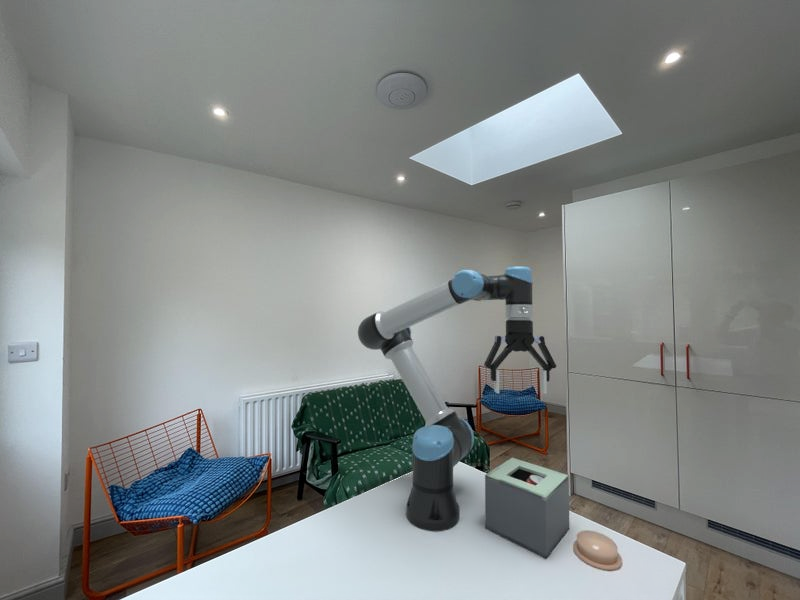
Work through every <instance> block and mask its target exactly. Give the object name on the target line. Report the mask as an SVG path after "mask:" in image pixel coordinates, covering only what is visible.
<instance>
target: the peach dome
mask: <svg viewBox="0 0 800 600" xmlns="http://www.w3.org/2000/svg"><path fill="white" fill-rule="evenodd" d="M572 546H573V547H572V548H573V552H574V554H575V556H576V557H577V558H578V559H579V560H580V561H581V562H582V563H584V564H586V565H587V566H589V567H592V568H594V569H596V570H599V571H605V572H606V571H607V572H614V571H618V570H620V569H621V568H622V565H623V560H622V559H623V558H622V556H621V554H620V553H619V552H618V551H619V550H618V546H617V543H616V542H615V541H614V540H613V539H612V538H610V537H609V536H607V535H605V534H604V533H600V532H598V531H594V530H581V531H578V532H577V534H576V540H575V541H573V544H572Z"/></svg>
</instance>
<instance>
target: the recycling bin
mask: <svg viewBox="0 0 800 600" xmlns="http://www.w3.org/2000/svg"><path fill="white" fill-rule="evenodd" d="M531 475H537V476H540V477H542V478H544V479H543V480H542V481H540V482H539V483H538V484H537V485H536V486H535V485H532V484H530V483H527V482H526V480H527V479H528V478H530V476H531ZM569 477H570V476H569V474H565V473H562V472H560V471H557V470H553V469H550V468H547V467H544V466H540V465H537V464H534V463H531V462H528V461H524V460H521V459H517V458H515V457H511V458H509V459H507V460H506V461H504V462H503V463H501V464H500V465H498V466H497V467H495V468H494V469H492V470H491V471H489V472H487V473H486V474H485V475H484V486H485V487H484V496H485V497H484V504H485V506H484V508H485V511H484V512H485V514H484V517H485V518H484V519H485V520H484V523H485V525H484V526H485V530H487V531H489V532H492V533H493V534H495V535H498V536H499V537H501V538H503V539H505V540H506V541H507V540H508V541H509V542H511V543H512V544H515V545H517V546H519V547H521V548H524V549H525V550H527V551H529V552H531V553H533V554H535V555H538V556H540V557H541V558H543V559H545V560H547V559H548V558H549V557H550V555H551V554H552V553H553V551H554V550H555V548H556V547H557V546H558V545H559V543H560V542H561V540H562V539H563V538H564V537H565V535H566V534H567V533H568V531H569V530H570V492H569V491H570V488H569V487H570V484H569V483H570V482H569V479H570V478H569Z"/></svg>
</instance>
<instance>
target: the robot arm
mask: <svg viewBox="0 0 800 600" xmlns="http://www.w3.org/2000/svg"><path fill="white" fill-rule="evenodd" d="M495 300H496V301H497V300H501V301H502V300H503V301H504V300H505V319H506V321H505V336H500V335H495V337H494V342H493V345H492V346H491V349H490V352H489V353H488V355H487V357H486V359H485V362H484V364H483V365H484V367H486V369H489V370H490V380H491V381H492V382H493V392H495V393H496V394H500V370H499V369H498V368H499V366H500V365H501V364H502V363H503V361H504V360H505V359H506V358H507V357H508V356H509V354H511V353H512V352H524V353H525V352H528V353H529V355H531V357H533V359H534V360H535V361H536V362H537V363H538V364H539V366H540V367H541V368H542V369H539V381H540V382H539V387H540V391H539V392H540V393H543V394H545V395H546V394H547V393H548V392H547V391H548V389H547V387H548V386H547V385H548V384H547V382H550V372H551V371H552V369H556V368H557V363H556V362H555V361H554V359H553V356H552V355H551V352H550V351H549V349H548V347H547V345H546V341H545V340H546V339H545V337H544V336H543V335H537V336H534V321H533V320H531V319H533V276H532V269H531V268H530V267H529V266H521V265H520V266H519V265H518V266H511V267H510V266H508V267H506V268H505V270H504V274H501V275H500V274H499V275H486V274H483V273H480V272H477V271H475V270H473V269H462V270H460V271H458V272H456V274H454V276H453V277H452V279H450V280H448V281H446V282H444V283H441V284H440V285H438V286H435V287H433V288H432V289H430V290H427V291H425V292H424V293H421V294H419V295H417V296H415V297H413V298H411V299H409V300H407V301H405V302H403V303H401V304H399V305H396V306H395V307H392V308H390V309H388V310H386V311H382V310H379V311H377V312H375V313H373V314H371V315H369V316H367V317H365V318H364V319H363V320H362V321H361V322H360V324H359V325H358V330H357V336H358V339H359V341H360V343H361V344H362V345H363V346H364V347H365V348H367V349H368V350H372V351H373V350H375V351H376V350H380V351H381V353H382V354H383V356H384V358H385V359H387V360H390V361H391V362H392V363H393V366H394V367H395V369H396V371H397V373H398V374H399V376H400V378H401V379H402V382H403V383H404V385H405V387H406V389H407V391H408V392H409V394H410V396H411V397H412V399H413V402H414V403H415V405H416V407H417V409H418V411H419V412H420V414H421V415H422V417H423V419H424V422H425V425H424V426H422V427H420V428H418V429H417V430H416V431H415V432H414V434H413V437H412V444H411V445H412V446H411V447H412V448H411V450H412V487H411V490H410V493H409V496H408V499H407V502H406V507H405V508H406V510H405V511H406V514H405V516H406V518H407V519H408V521H409V522H410V523H411V524H413V525H414V526H415V527H417V528H420V529H422V530H426V531H436V532H437V531H438V532H439V531H445V530H449V529H451V528H453V527H455V526H456V525H457V524H458V522H459V521H460V514H461V513H460V510H461V509H460V505H459V503H458V499H457V496H456V493H455V490H454V467H455V466H456V465H458V463H459V462H461V460H462V459H464V458H466V457H467V456H468V455H469V454H470V452H471V450H472V449H473V446H474V442H475V436H474V435H475V434H474V431H473V429H472V427H471V425H470V424H469V422H467V421H466V420H465V419H462V418H461V417H459V416H458V414H457V412H456V411H455V410H454V409H452V408H449V407H448V406H447V405H446V402H445V401H444V399H443V397H442V396H441V394H440V393H439V391H438V389H437V387H436V386H435V385H434V383H433V381H432V379H431V377H430V375H429V374H428V372H427V371H426V369H425V367H424V366H423V364H422V362H421V361H420V359H419V357H418V356H417V353H416V352H415V350H414V349H413V344H414V341H413V339H412V329H411V327H413V326H415V325H417V324H419V323H421V322H423V321H425V320H429V319H430V318H433V317H435V316H437V315H439V314H441V313H443V312H446V311H447V310H450V309H452V308H454V307H455V308H456V307H457V306H459V305H461V304H464V303H466V302H469V301H477V302H481V301H495ZM504 342H505V344H506V346H505V347H504V348H503V350H502V351H501V352H500V354H498V351H499V350H500V347H501V345H502V344H503V343H504ZM534 342H535V344H537V345H538V348H539V349H540V352H541V353H542V355H543V357H544V359H545V360H544V359H543V357H542V356H541V355H540V354H539V353H538V351H536V349H535V347H533V344H534ZM497 354H498V356H497V357H496V355H497Z"/></svg>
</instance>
